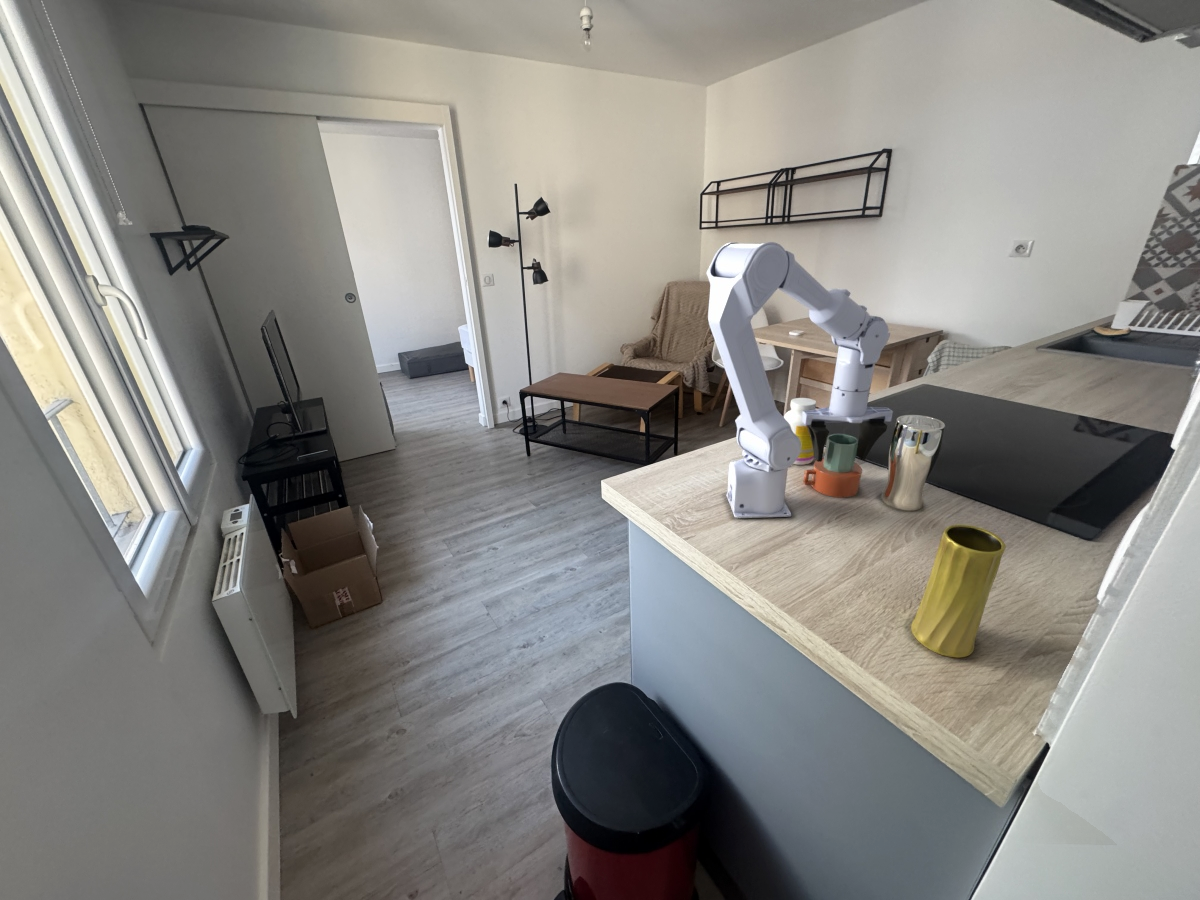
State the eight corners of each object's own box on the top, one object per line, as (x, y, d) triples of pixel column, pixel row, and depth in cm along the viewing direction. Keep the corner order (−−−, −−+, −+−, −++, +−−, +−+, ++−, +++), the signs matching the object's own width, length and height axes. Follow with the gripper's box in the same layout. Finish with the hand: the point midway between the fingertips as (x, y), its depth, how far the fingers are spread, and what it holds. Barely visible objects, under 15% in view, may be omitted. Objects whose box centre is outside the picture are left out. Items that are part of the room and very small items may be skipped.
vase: (899, 621, 58) (925, 524, 52) (946, 615, 58) (978, 519, 52) (935, 661, 52) (969, 559, 46) (987, 655, 53) (1028, 552, 47)
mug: (847, 475, 91) (850, 456, 89) (866, 496, 84) (870, 476, 82) (795, 477, 92) (798, 458, 90) (810, 498, 84) (813, 478, 83)
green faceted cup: (829, 473, 84) (834, 445, 81) (818, 460, 88) (822, 434, 86) (858, 472, 83) (863, 444, 81) (846, 459, 88) (850, 433, 86)
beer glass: (931, 513, 78) (955, 430, 71) (885, 511, 79) (904, 429, 73) (915, 492, 84) (935, 414, 78) (872, 490, 85) (889, 414, 79)
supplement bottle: (820, 459, 98) (829, 401, 92) (801, 469, 94) (808, 409, 89) (792, 449, 103) (799, 393, 97) (773, 458, 100) (778, 401, 94)
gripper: (816, 396, 76) (806, 469, 82) (908, 392, 75) (891, 466, 81) (801, 383, 83) (792, 452, 88) (886, 379, 82) (872, 449, 87)
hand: (839, 458), depth 85 cm, fingers open, 7 cm apart
